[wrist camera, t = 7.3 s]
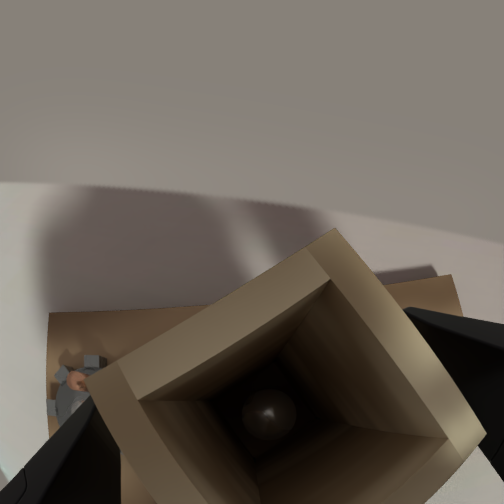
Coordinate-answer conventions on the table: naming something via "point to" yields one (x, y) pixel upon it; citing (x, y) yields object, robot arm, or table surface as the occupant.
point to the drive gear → (73, 387)
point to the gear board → (163, 319)
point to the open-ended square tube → (306, 386)
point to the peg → (269, 414)
